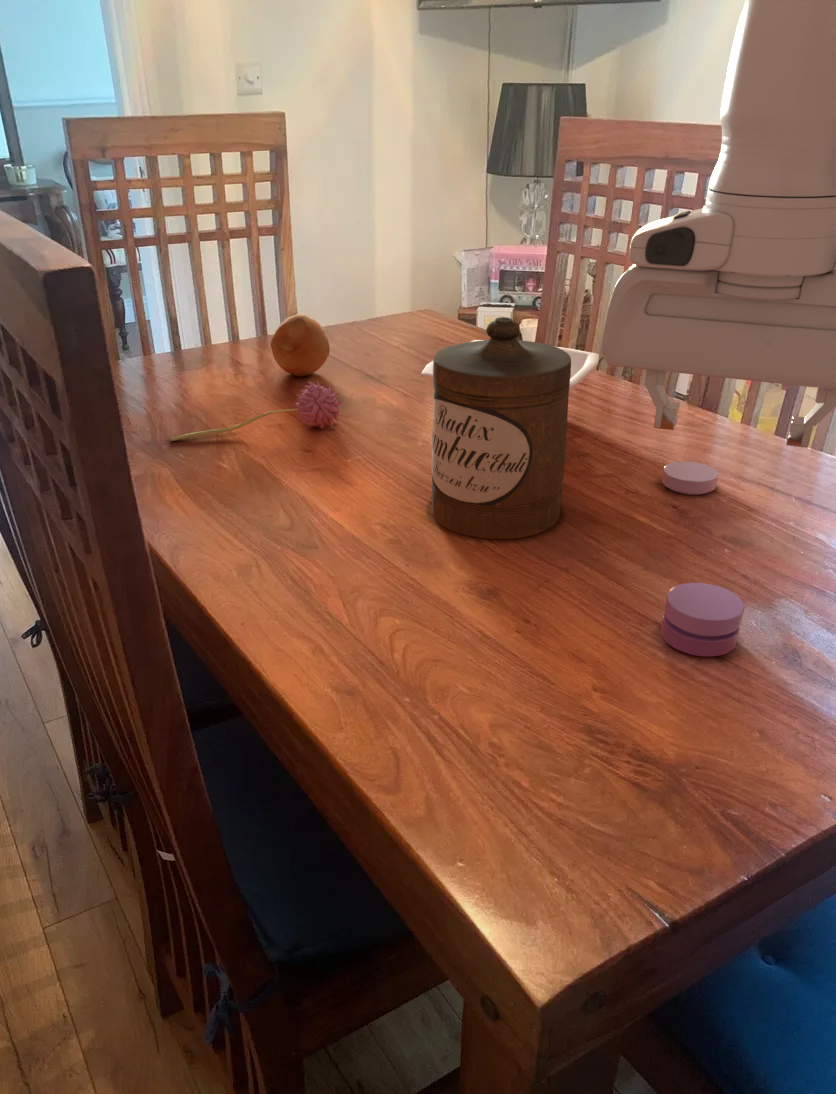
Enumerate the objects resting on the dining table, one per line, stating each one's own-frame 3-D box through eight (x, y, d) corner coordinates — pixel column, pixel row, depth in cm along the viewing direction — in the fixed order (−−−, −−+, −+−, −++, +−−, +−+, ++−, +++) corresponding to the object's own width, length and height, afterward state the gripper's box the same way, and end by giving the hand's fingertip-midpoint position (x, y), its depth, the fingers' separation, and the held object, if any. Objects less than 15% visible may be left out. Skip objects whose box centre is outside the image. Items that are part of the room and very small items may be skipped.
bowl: (603, 407, 132) (609, 351, 128) (557, 457, 115) (563, 395, 110) (469, 388, 141) (471, 336, 136) (408, 432, 123) (408, 374, 119)
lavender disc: (739, 608, 77) (744, 588, 76) (740, 646, 72) (745, 625, 71) (665, 597, 79) (669, 577, 78) (661, 634, 74) (664, 613, 73)
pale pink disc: (715, 480, 107) (718, 464, 106) (715, 500, 102) (718, 484, 101) (662, 474, 109) (665, 458, 108) (659, 494, 104) (661, 477, 103)
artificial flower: (180, 471, 119) (352, 426, 123) (164, 422, 117) (341, 377, 121) (178, 462, 125) (342, 419, 129) (164, 415, 123) (331, 372, 127)
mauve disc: (734, 628, 79) (739, 608, 77) (735, 667, 73) (740, 646, 72) (662, 617, 80) (665, 597, 79) (657, 654, 75) (661, 634, 74)
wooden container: (405, 514, 100) (404, 320, 89) (484, 477, 109) (492, 297, 98) (507, 554, 91) (520, 345, 80) (584, 510, 100) (606, 316, 89)
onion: (273, 367, 153) (268, 309, 148) (329, 365, 154) (326, 307, 149) (272, 383, 145) (267, 323, 140) (331, 381, 145) (329, 320, 140)
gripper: (943, 239, 56) (882, 440, 63) (626, 224, 64) (604, 406, 71) (951, 255, 51) (885, 471, 59) (608, 236, 59) (586, 430, 66)
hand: (729, 435), depth 65 cm, fingers open, 8 cm apart
